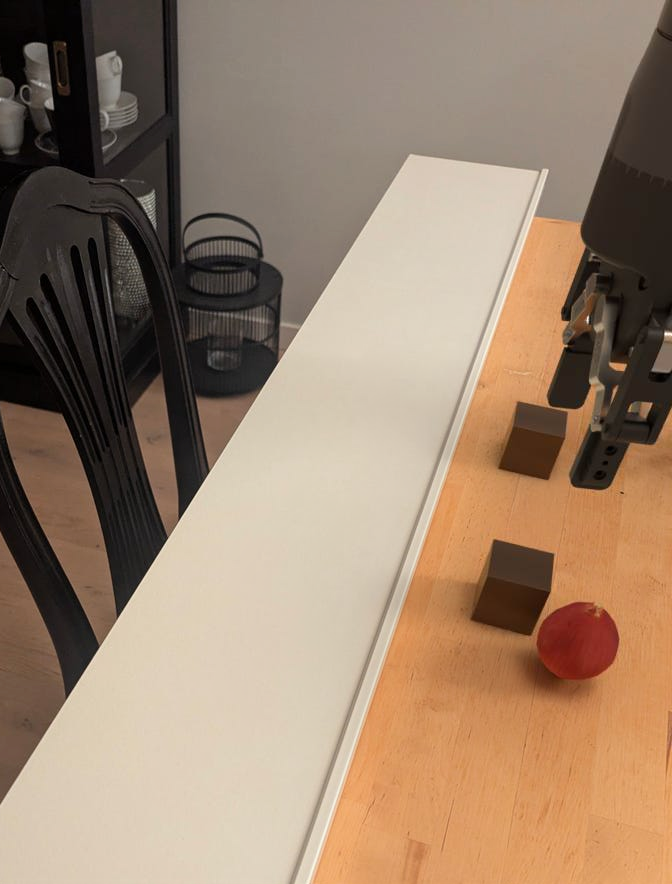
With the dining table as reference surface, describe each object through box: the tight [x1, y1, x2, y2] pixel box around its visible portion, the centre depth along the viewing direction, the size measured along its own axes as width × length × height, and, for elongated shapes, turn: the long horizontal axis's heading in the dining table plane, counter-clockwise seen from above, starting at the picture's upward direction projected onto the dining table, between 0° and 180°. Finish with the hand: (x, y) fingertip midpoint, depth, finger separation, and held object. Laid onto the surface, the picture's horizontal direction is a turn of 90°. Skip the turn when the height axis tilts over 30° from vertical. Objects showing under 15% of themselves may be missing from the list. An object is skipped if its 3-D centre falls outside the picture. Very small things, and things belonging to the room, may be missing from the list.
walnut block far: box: [497, 400, 569, 480], centre depth 92 cm, size 5×5×5 cm
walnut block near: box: [470, 538, 555, 636], centre depth 76 cm, size 5×5×5 cm
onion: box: [535, 601, 620, 681], centre depth 70 cm, size 6×6×8 cm
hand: (574, 443), depth 55 cm, fingers open, 8 cm apart
